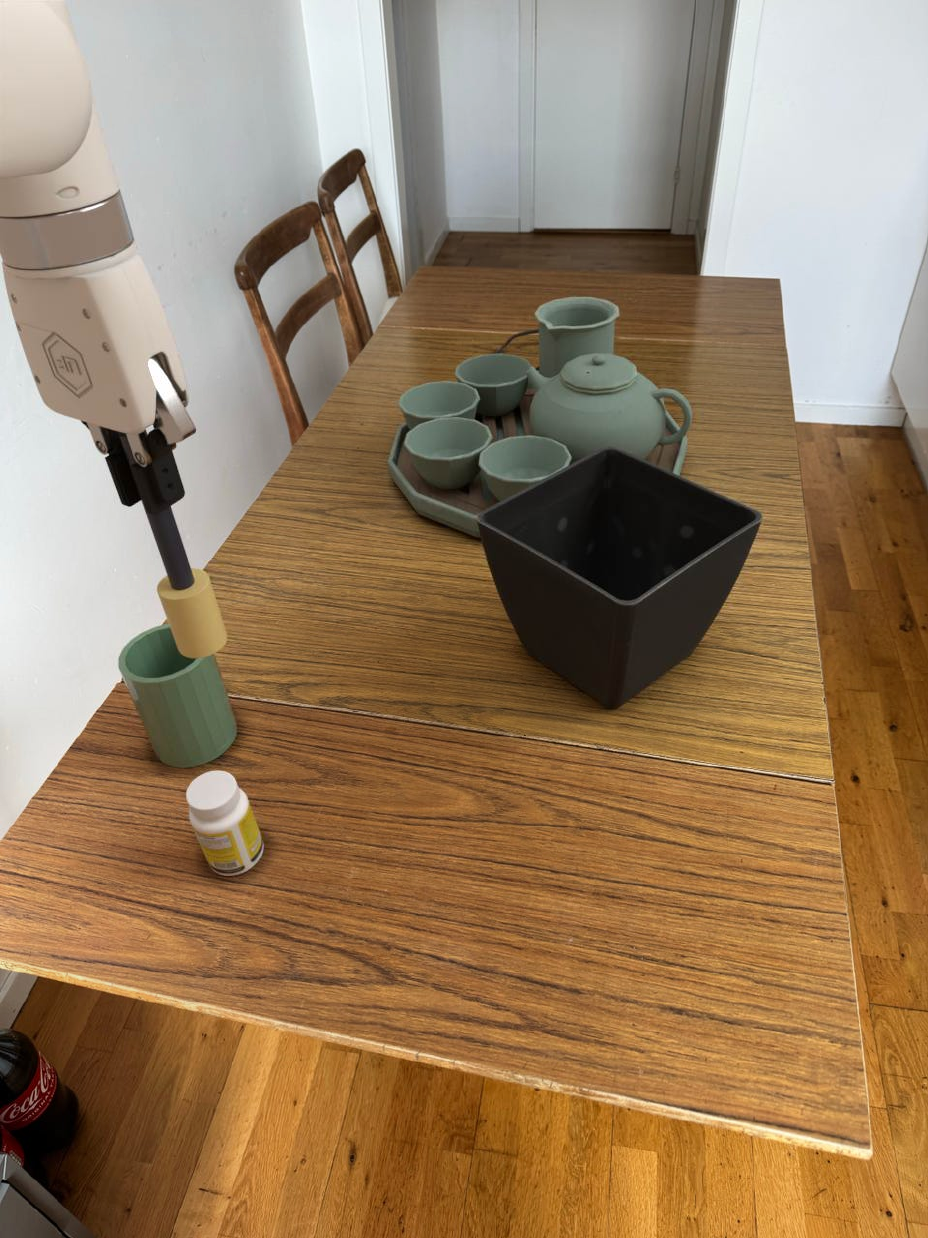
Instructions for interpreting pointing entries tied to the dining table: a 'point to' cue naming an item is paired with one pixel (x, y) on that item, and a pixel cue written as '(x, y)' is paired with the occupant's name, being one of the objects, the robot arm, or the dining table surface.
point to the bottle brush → (183, 587)
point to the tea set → (530, 417)
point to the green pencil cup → (177, 699)
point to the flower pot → (615, 568)
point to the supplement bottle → (224, 823)
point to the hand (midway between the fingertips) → (154, 499)
